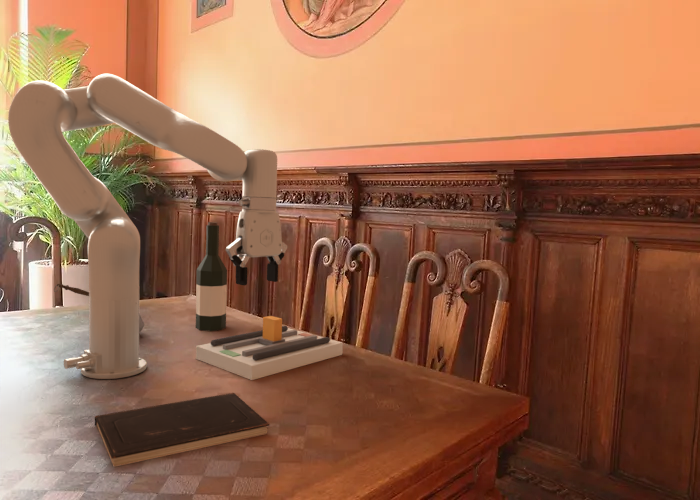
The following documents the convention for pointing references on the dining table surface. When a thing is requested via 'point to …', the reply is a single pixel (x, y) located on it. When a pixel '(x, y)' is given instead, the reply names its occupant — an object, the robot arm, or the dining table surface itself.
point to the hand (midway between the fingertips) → (257, 282)
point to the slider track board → (241, 352)
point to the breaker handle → (271, 330)
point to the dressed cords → (274, 351)
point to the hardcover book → (177, 427)
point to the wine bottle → (211, 285)
